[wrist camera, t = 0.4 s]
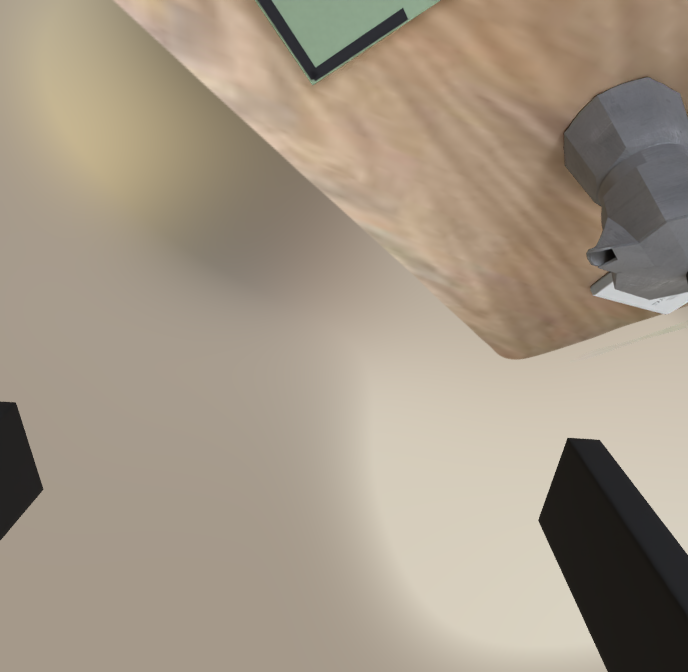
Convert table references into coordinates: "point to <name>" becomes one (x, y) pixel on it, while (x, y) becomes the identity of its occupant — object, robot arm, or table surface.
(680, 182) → the coffeepot
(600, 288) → the hard drive
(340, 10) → the desk mat
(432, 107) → the table surface
